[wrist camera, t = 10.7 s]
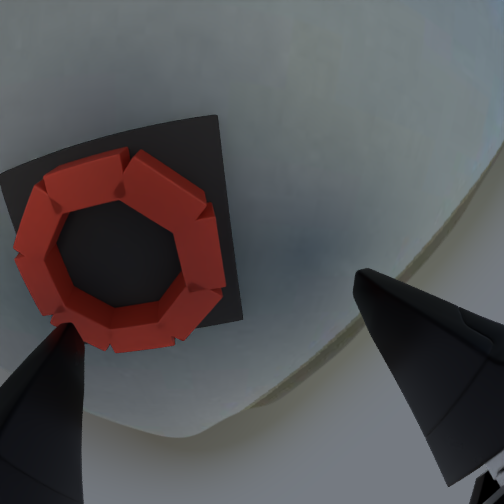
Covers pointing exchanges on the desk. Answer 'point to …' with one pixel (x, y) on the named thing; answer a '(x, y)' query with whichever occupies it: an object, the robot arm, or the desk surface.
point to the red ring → (150, 205)
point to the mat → (136, 218)
